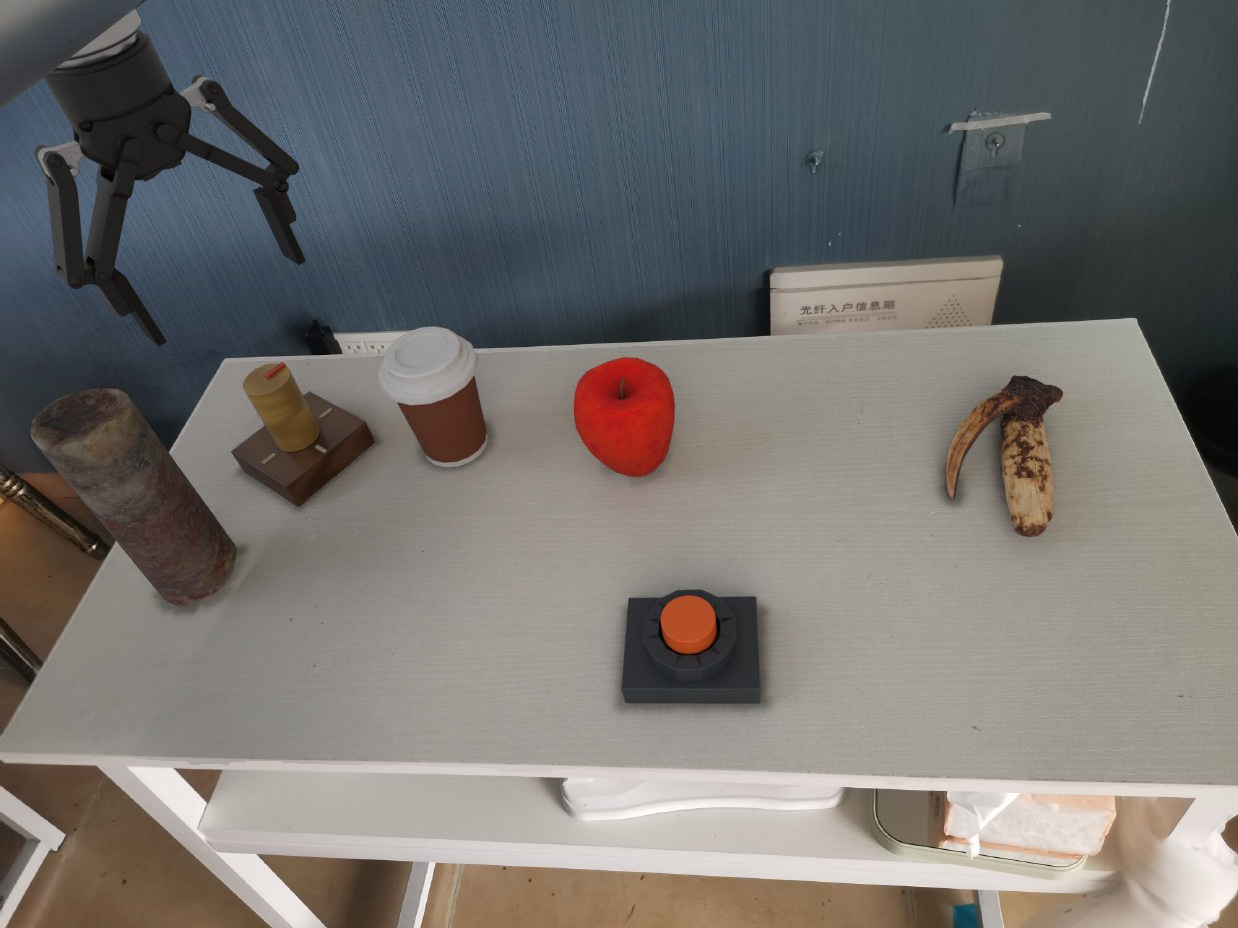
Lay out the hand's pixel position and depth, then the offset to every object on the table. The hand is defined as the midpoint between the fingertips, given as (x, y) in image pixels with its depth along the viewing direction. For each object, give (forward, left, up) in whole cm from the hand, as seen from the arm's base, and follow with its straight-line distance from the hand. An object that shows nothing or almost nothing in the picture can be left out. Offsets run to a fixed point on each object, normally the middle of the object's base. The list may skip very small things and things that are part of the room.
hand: (228, 297), depth 76 cm
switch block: (+1, -46, -19) cm, 50 cm away
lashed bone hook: (+31, -58, -19) cm, 68 cm away
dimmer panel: (-1, -1, -19) cm, 19 cm away
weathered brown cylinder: (-16, -4, -19) cm, 25 cm away
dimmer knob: (-1, -1, -16) cm, 16 cm away
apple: (+15, -30, -19) cm, 39 cm away
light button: (+1, -46, -15) cm, 48 cm away
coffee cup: (+8, -13, -19) cm, 24 cm away
